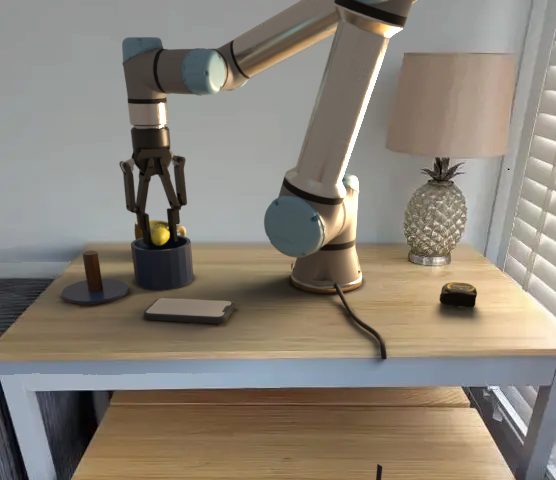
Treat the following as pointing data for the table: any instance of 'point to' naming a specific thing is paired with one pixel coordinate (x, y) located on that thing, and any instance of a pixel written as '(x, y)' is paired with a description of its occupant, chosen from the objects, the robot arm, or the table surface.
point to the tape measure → (458, 295)
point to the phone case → (189, 310)
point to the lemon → (160, 235)
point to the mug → (156, 222)
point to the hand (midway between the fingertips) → (160, 241)
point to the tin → (162, 264)
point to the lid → (94, 284)
